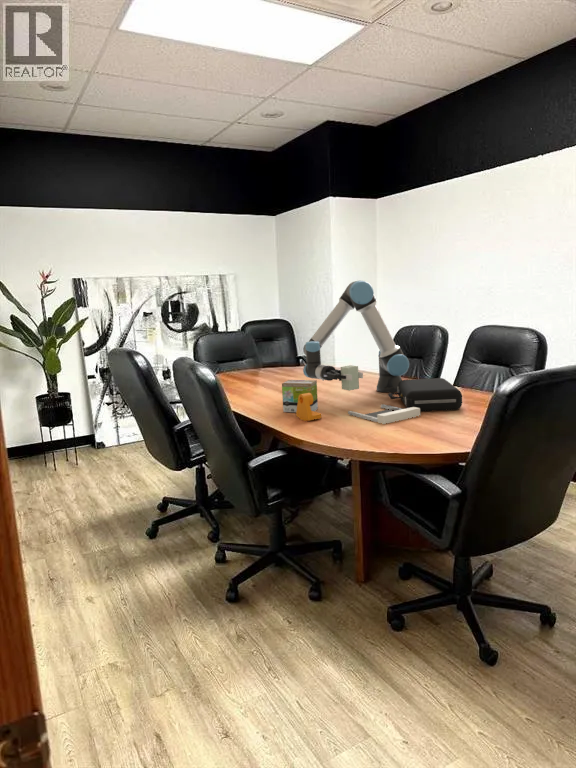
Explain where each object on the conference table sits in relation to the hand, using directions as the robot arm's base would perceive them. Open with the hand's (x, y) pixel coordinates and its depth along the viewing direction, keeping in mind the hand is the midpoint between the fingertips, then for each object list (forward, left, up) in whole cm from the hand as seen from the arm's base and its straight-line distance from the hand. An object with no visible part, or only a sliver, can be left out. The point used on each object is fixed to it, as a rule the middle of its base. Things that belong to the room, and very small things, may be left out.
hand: (356, 376), depth 259 cm
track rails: (0, +17, -16) cm, 23 cm away
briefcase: (-29, +13, -16) cm, 35 cm away
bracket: (+28, 0, -16) cm, 32 cm away
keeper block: (0, -5, -7) cm, 8 cm away
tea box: (+22, -17, -16) cm, 32 cm away
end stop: (0, +29, -16) cm, 33 cm away
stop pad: (0, +20, -16) cm, 25 cm away
